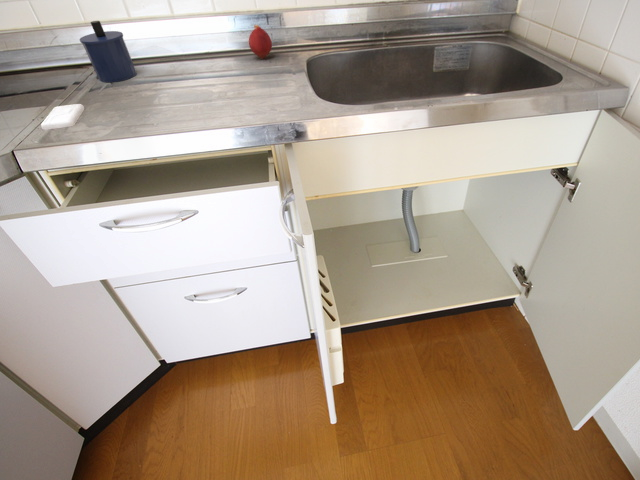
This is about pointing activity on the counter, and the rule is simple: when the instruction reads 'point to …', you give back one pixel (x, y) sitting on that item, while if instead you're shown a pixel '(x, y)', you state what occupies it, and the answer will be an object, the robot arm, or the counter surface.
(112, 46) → the pot
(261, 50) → the onion
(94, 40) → the pot lid
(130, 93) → the counter surface
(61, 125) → the soap
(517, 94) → the counter surface
